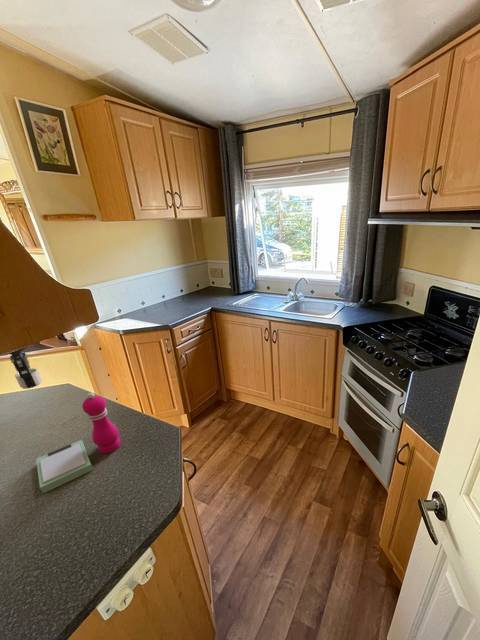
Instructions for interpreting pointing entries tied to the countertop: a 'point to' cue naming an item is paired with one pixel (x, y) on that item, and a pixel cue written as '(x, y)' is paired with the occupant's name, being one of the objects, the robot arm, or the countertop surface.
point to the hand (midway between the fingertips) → (31, 383)
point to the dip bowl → (35, 377)
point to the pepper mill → (101, 424)
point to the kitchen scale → (62, 466)
